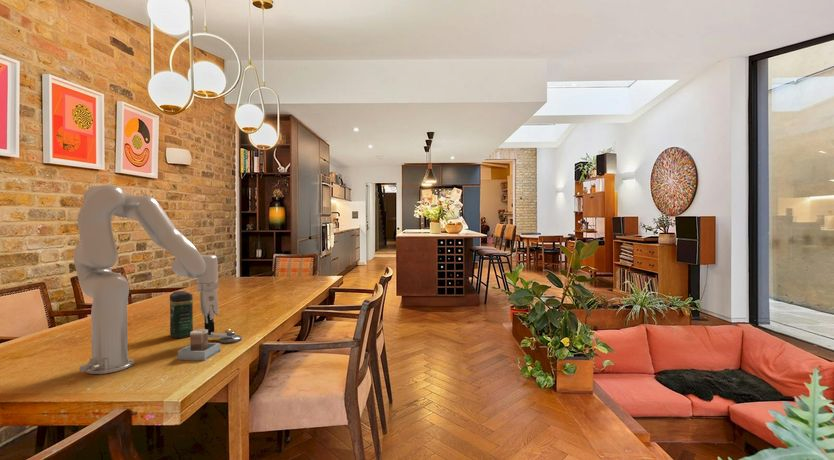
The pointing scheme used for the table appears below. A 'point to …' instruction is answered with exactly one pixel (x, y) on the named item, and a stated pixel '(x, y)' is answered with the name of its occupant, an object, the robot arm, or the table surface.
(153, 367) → the table surface
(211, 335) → the crank
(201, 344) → the block
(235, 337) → the hub
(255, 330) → the table surface
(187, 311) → the coffee jar
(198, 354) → the tray
